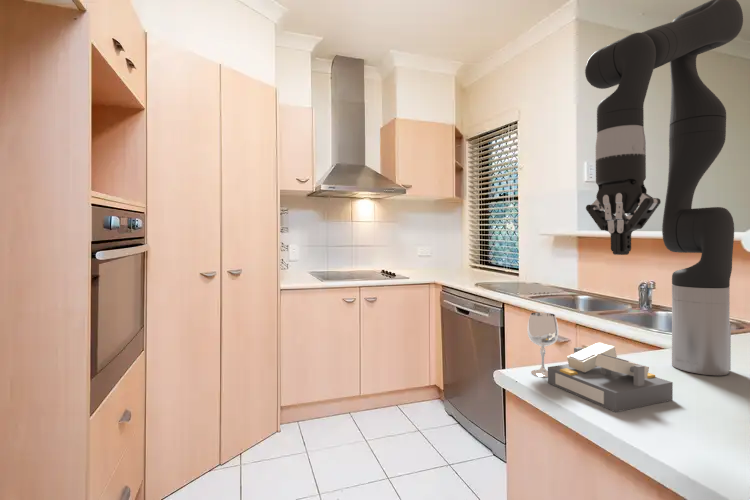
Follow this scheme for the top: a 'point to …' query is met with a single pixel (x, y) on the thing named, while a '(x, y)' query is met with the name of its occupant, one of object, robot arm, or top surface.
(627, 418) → the top surface
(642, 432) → the top surface
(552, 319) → the wineglass
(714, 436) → the top surface
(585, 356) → the block
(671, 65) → the robot arm
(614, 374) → the switch unit
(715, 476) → the top surface
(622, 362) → the rocker far
